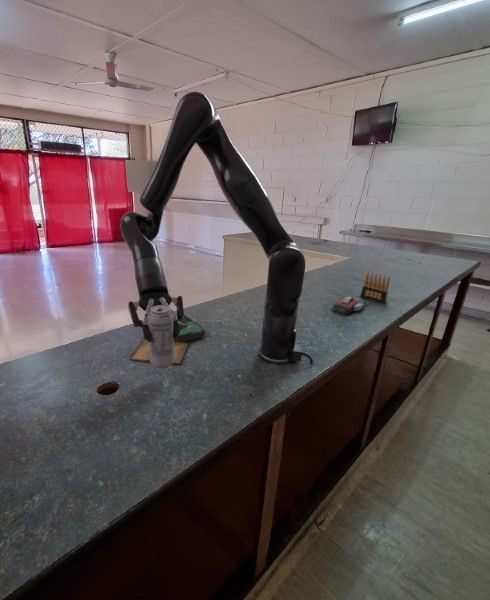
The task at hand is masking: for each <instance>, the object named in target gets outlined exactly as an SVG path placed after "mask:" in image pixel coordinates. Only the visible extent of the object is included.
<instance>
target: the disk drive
mask: <svg viewBox="0 0 490 600" xmlns="http://www.w3.org/2000/svg"><path fill="white" fill-rule="evenodd" d="M178 325H179V330H180V333H179V335H178V337H177V338H174V342H181V343H183V342H186V341H190V340H194V339H198V338H203V337H205V335H206V330H205V329H204V328H203V326H201V325H199V324H198V323H197V322H195V321H194V320H193V319H192V318H189V316H187V315H185V314H184V317H183V318H182V320H181V321H178Z"/></svg>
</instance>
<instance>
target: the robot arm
mask: <svg viewBox="0 0 490 600" xmlns="http://www.w3.org/2000/svg"><path fill="white" fill-rule="evenodd" d="M195 145H197V147H198V148H199V149H200V151H201V152H202V153H203V155H204V156H205V158H206V159H207V160H208V162H209V164H210V166H211V168H212V171H213V174H214V176H215V178H216V181H217V183H218V185H219V188H220V190H221V192H222V194H223V196H224V198H225V199H226V200H227V202H228V204H229V206H230V207H231V208H232V210H233V211H234V213H235V214H236V215H237V217H238V218H239V219H240V220H241V221H242V223H243V225H245V226H246V227H247V228H248V229H249V230H250V231H251V232H252V234H253V235H254V236H255V238H256V239H257V240H258V242H259V244H260V246H261V248H262V250H263V252H264V254H265V256H266V258H267V260H268V268H267V279H266V280H267V281H266V288H265V299H264V306H263V307H264V308H263V317H262V318H263V320H262V330H261V338H260V348H259V356H260V357H261V358H262V359H263V360H265V361H267V362H268V363H273V364H285V363H292V362H293V361H299V362H301V361H302V356H304V357H306V358H307V359H308V360H309V364H310V365H313V364H314V361H313V358H312V356H311V355H309V354H308V353H306V352H303V351H302V346H301V344H298V343H297V344H296V337H297V329H296V326H297V320H298V319H297V318H298V312H299V304H300V300H301V299H300V298H301V296H302V291H303V285H304V279H305V274H306V273H305V272H306V257H305V255H304V253H303V251H302V249H301V248H300V247H299V246H298V245H297V244H296V243H295V241H294V240H293V239H292V238H291V236H290V235H289V234H288V232H287V230H286V229H285V228H284V226H283V225H282V223H281V222H280V220H279V218H278V215H277V214H276V212H275V209H274V206H273V205H272V204H273V203H272V202H271V200H270V198H269V196H268V194H267V192H266V190H265V188H264V186H263V185H262V184H261V181H260V179H259V178H258V177H257V175H256V174H255V172H254V171H253V169H252V168H251V166H250V165H249V164H248V162H247V161H246V160H245V158H244V156H242V155H241V153H240V152H239V151H238V149H237V148H236V147H235V146H234V144H233V142H232V140H231V138H230V137H229V135H228V133H227V130H226V129H225V127H224V124H223V122H222V120H221V118H220V116H219V113H218V110H217V108H216V107H215V105H214V104H213V102H212V101H211V100H210V98H208V96H206V95H205V94H204V93H202V92H200V91H191V92H188V93H185V95H183V96H181V98H180V99H179V101H178V102H177V104H176V108H175V111H174V114H173V117H172V120H171V124H170V128H169V130H168V133H167V137H166V139H165V141H164V144H163V147H162V149H161V152H160V155H159V157H158V159H157V162H156V164H155V166H154V168H153V170H152V173H151V174H150V177H149V179H148V181H147V182H146V184H145V187H144V189H143V190H142V192H141V194H140V196H139V203H140V205H141V206H142V207H143V208H144V209H146V210H147V211H148V212H147V213H148V214H147V215H145V214H141V213H139V212H135V211H128V212H127V211H126V213H124V214H123V215H122V217H121V219H120V223H119V224H120V225H119V226H120V232H121V235H122V237H123V240H124V241H125V243H126V245H127V247H128V249H129V251H130V253H131V256H132V261H133V267H134V270H133V271H134V280H135V283H136V288H137V293H138V301H135V302H134V301H128V305H127V310H128V312H129V315H130V318H131V320H132V325H133V327H135V328H141V329H142V334H143V335H142V336H143V339H144V340H147V342H151V334H150V329H149V325H148V314H149V312H150V308H151V307H153V306H157V305H165V306H169V307H170V310H171V312H172V313H173V331H174V338H177V337H178V335H179V333H180V330H179V325H178V321H181V320H182V318H183V317H184V315H185V313H184V312H185V310H184V301H183V296H181V295H178V296H177V297H172V295H170V293H169V289H168V285H167V284H168V283H167V280H166V275H165V272H164V267H163V265H162V262H161V258H160V253H159V250H158V246H157V245H156V244H155V242H153V241H154V240H156V238H157V237H158V235H159V233H160V229H161V223H162V220H163V216H164V211H165V209H166V207H167V205H168V203H169V202H170V200H171V198H172V195H173V194H174V192H175V190H176V187H177V185H178V182H179V179H180V176H181V174H182V173H181V172H182V169H183V167H184V165H185V162H186V160H187V158H188V156H189V154H190V152H191V150H192V149H193V147H194V146H195ZM171 303H172V304H173V306H174V307H176V314H175V313H174V310H173V309H172V307H171ZM139 308H141V309H142V310H143V312H145V313H144V316H143V319H140V318H139V316H138V310H139Z"/></svg>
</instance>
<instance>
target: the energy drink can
mask: <svg viewBox="0 0 490 600" xmlns="http://www.w3.org/2000/svg"><path fill="white" fill-rule="evenodd" d="M169 306H170V305H169ZM169 306H165V305H157V306H153V307H151V308H150V312H149V314H148V323H147V324H148V325H149V329H150V334H151V342H149V346H150V361H149V362H150V363H151V365H152V366H153V367H154V368H156V369H167V368H169V367H171V366H172V365H173V364H172V362H173V361H174V342H175V340H174V331H173V313H174V312H173V313H172V312H171V310H170V308H171V306H170V307H169Z"/></svg>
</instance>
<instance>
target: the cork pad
mask: <svg viewBox="0 0 490 600" xmlns="http://www.w3.org/2000/svg"><path fill="white" fill-rule="evenodd" d="M188 346H189V343H188V342H177V341H174V361H173V362H172V364H171V365H181V362H182V359H183V357H184V355H185V352H186V350H187V348H188ZM131 361H140V362H141V361H142V362H150V346H149V342H147V340H145V339H144V340H143V342H142V343H141V344H140V346H139V347H138V348H137V350H136V352H135V353H134V354H133V356H132V357H131Z"/></svg>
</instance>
